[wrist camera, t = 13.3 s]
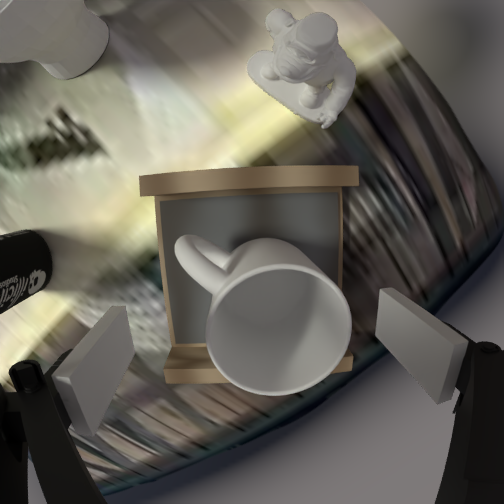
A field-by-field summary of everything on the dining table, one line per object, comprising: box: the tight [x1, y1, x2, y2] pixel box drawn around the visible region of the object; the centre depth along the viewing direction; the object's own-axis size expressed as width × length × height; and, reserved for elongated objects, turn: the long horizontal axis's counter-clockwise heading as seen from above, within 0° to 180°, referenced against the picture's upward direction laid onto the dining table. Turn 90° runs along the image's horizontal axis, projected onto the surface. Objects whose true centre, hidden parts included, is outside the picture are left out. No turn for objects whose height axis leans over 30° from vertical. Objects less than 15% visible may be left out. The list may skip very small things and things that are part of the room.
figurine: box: [247, 8, 356, 128], centre depth 19 cm, size 9×7×12 cm
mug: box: [175, 235, 352, 396], centre depth 21 cm, size 12×8×10 cm
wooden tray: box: [139, 166, 359, 383], centre depth 25 cm, size 16×17×5 cm
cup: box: [0, 0, 109, 79], centre depth 15 cm, size 11×11×15 cm
